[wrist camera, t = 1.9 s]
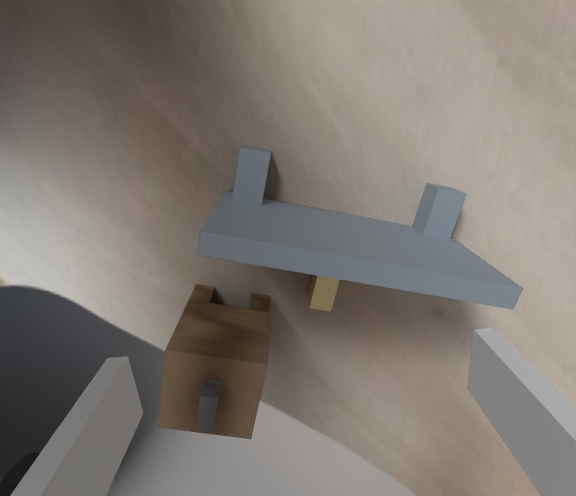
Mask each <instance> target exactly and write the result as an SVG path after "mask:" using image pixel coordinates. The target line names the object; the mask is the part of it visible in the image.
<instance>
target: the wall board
mask: <svg viewBox="0 0 576 496" xmlns="http://www.w3.org/2000/svg"><path fill="white" fill-rule="evenodd" d="M270 156H271V151H267V150H262V149H258V148H253V147H248V146H243V145H242V146H241V147H240V148H239V155H238V162H237V169H236V175H235V182H234V189H233V192H228V191H226V192H225V193H224V195H223V196H222V198H221V200H220V201H219V203H218V204H217V206H216V207H215V209H214V210H213V212H212V213H211V215H210V217H209V218H208V220H207V221H206V223H205V224H204V226H203V227H202V229H201V231H200V237H199V245H198V253H197V255H200V256H206V257H212V258H218V259H224V260H229V261H235V262H241V263H247V264H253V265H258V266H264V267H270V268H276V269H282V270H288V271H293V272H299V273H305V274H311V275H317V276H322V277H328V278H334V279H340V280H346V281H352V282H357V283H363V284H369V285H375V286H381V287H386V288H392V289H398V290H404V291H410V292H415V293H421V294H427V295H433V296H439V297H445V298H450V299H456V300H462V301H468V302H474V303H479V304H485V305H491V306H497V307H503V308H509V309H514V307H515V305H516V303H517V301H518V299H519V296H520V294H521V292H522V290H523V288H522V287H520V286H519V285H518V284H516V283H515V282H513V281H512V280H511V279H509V278H508V277H506V276H505V275H504V274H502V273H501V272H500V271H498V270H497V269H495V268H494V267H493V266H491V265H490V264H488V263H487V262H486V261H484V260H483V259H481V258H480V257H479V256H477V255H476V254H474V253H473V252H472V251H470V250H469V249H467V248H466V247H465V246H463V245H462V244H461V243H459V242H458V241H456V240H455V239H454V238H452V237H451V235H452V232H453V229H454V227H455V224H456V221H457V219H458V216H459V213H460V211H461V208H462V205H463V203H464V200H465V198H466V195H467V194H465V193H463V192H461V191H458V190H456V189H454V188H450V187H445V186H440V185H435V184H430V183H427V185H426V187H425V190H424V193H423V196H422V199H421V202H420V205H419V208H418V211H417V214H416V217H415V220H414V223H413V226H406V225H401V224H396V223H391V222H385V221H380V220H375V219H370V218H364V217H359V216H354V215H349V214H343V213H338V212H333V211H328V210H322V209H317V208H312V207H306V206H301V205H296V204H291V203H285V202H280V201H275V200H270V199H264V198H263V195H264V190H265V184H266V179H267V173H268V167H269V162H270Z"/></svg>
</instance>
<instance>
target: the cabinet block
mask: <svg viewBox="0 0 576 496" xmlns="http://www.w3.org/2000/svg"><path fill="white" fill-rule="evenodd" d="M213 294H214V287H211V286H205V285H199V284H196V286H195V288H194V290H193V292H192V294H191V297H190V299H189V301H188V303H187V305H186V307H185V309H184V311H183V314H182V316H181V318H180V320H179V322H178V324H177V326H176V329H175V331H174V333H173V335H172V337H171V339H170V341H169V343H168V346H167V348H166V350H165V360H164V370H163V381H162V390H161V402H160V411H159V421H158V427H160V428H167V429H176V430H183V431H191V432H199V433H207V434H215V435H223V436H232V437H239V438H247V439H251V437H252V432H253V427H254V422H255V418H256V414H257V409H258V404H259V400H260V395H261V391H262V386H263V382H264V377H265V373H266V368H267V358H268V332H269V306H270V296H266V295H260V294H254V293H252V298H251V303H250V308H249V309H244V308H238V307H232V306H226V305H219V304H213V303H212V301H213Z"/></svg>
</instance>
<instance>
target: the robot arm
mask: <svg viewBox="0 0 576 496" xmlns="http://www.w3.org/2000/svg"><path fill="white" fill-rule="evenodd" d="M467 389H468V390H469V392H470V393H471V395H472V396H473V397H474V399H475V400H476V402H477V403H478V405H479V406H480V408H481V409H482V410H483V412H484V413H485V415H486V416H487V418H488V419H489V421H490V422H491V424H492V425H493V426H494V428H495V429H496V431H497V432H498V434H499V435H500V437H501V438H502V439H503V441H504V442H505V444H506V445H507V447H508V448H509V450H510V451H511V452H512V454H513V455H514V457H515V458H516V460H517V461H518V463H519V464H520V466H521V467H522V468H523V470H524V471H525V473H526V474H527V476H528V477H529V479H530V480H531V481H532V483H533V484H534V486H535V487H536V489H537V490H538V492H539V493H540V494H541V496H576V408H575V407H574V406H573V405H572V404H571V403H570V402H569V401H568V400H567V399H566V398H565V397H564V396H563V395H562V394H561V393H560V392H559V391H558V390H557V389H556V388H555V387H554V386H553V385H552V384H551V383H550V382H549V381H548V380H547V379H546V378H545V377H544V376H543V375H542V374H541V373H540V372H539V371H538V370H537V369H536V368H535V367H533V366H532V365H531V364H530V363H529V362H528V361H527V360H526V359H525V358H524V357H523V356H522V355H521V354H520V353H519V352H518V351H517V350H516V349H515V348H514V347H513V346H512V345H511V344H510V343H509V342H508V341H507V340H506V339H505V338H504V337H503V336H502V335H501V334H500V333H499V332H498V331H497V330H496V329H495V328H485V329H474V333H473V341H472V350H471V358H470V367H469V375H468V384H467ZM142 415H143V410H142V407H141V403H140V399H139V396H138V392H137V389H136V385H135V381H134V378H133V374H132V370H131V367H130V363H129V359H128V357H115V358H107V360H106V361H105V363H104V364H103V365H102V367H101V368H100V370H99V371H98V373H97V374H96V375H95V377H94V378H93V380H92V381H91V383H90V384H89V385H88V387H87V388H86V389H85V391H84V392H83V394H82V395H81V397H80V398H79V399H78V401H77V402H76V404H75V405H74V406H73V408H72V409H71V411H70V412H69V413H68V415H67V416H66V418H65V419H64V420H63V422H62V423H61V425H60V426H59V428H58V429H57V430H56V432H55V433H54V435H53V436H52V437H51V439H50V440H49V442H48V443H47V445H46V446H45V447H44V449H43V450H42V452H38V453H28V454H27V455H26V456H25V457H24V458H23V459H21V460H20V461H19V462H18V463H17V464H16V465H14V466H13V467H12V468H11V469H10V470H9V471H8V473H7V474H6V475H5V476H4V478H3V479H2V481H1V482H0V496H106V494H107V492H108V489H109V487H110V484H111V483H112V481H113V478H114V476H115V474H116V472H117V470H118V467H119V465H120V463H121V461H122V459H123V457H124V454H125V452H126V450H127V448H128V445H129V443H130V441H131V439H132V437H133V435H134V432H135V430H136V428H137V426H138V424H139V421H140V419H141V417H142Z"/></svg>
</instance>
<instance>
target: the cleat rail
mask: <svg viewBox="0 0 576 496" xmlns="http://www.w3.org/2000/svg"><path fill="white" fill-rule="evenodd" d="M339 281H340V279H334V278H328V277H322V276H317V275H312V278H311V282H310V287H309V291H308V295H307V297H308V303H309V308H311V309H318V310H324V311H330V312H331V310H332V307H333V303H334V299H335V296H336V292H337V288H338V285H339Z"/></svg>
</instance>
